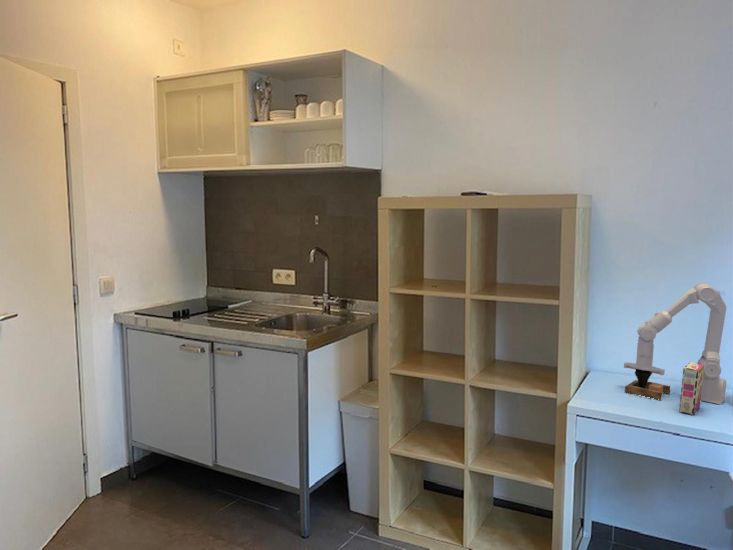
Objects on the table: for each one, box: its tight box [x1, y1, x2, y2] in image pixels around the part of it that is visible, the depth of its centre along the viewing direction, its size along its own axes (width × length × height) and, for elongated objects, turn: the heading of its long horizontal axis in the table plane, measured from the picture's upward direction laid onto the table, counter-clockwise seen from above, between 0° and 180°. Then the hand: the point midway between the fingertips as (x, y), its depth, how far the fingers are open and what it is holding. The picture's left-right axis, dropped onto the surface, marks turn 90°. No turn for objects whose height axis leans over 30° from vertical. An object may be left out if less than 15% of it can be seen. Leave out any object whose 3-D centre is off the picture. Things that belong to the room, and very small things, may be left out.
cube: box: [649, 382, 664, 394], centre depth 229 cm, size 4×4×4 cm
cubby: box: [624, 379, 671, 401], centre depth 231 cm, size 13×11×3 cm
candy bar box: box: [678, 361, 704, 416], centre depth 213 cm, size 11×5×16 cm, turn 141°
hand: (642, 388), depth 233 cm, fingers closed
